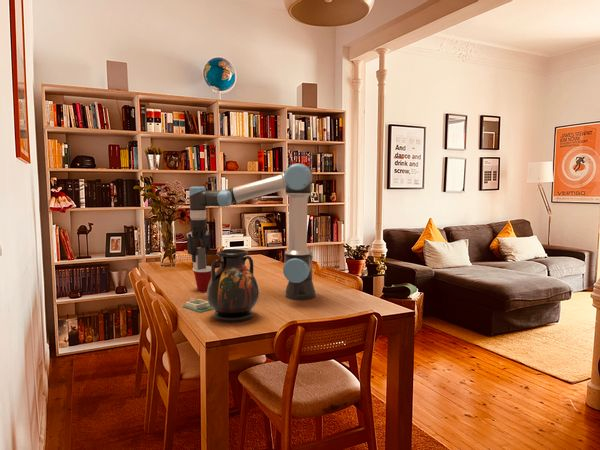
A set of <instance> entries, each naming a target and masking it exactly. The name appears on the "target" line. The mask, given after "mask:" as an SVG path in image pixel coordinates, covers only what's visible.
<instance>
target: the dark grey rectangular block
mask: <svg viewBox="0 0 600 450" xmlns="http://www.w3.org/2000/svg"><path fill="white" fill-rule="evenodd" d="M196 255H198V270H201V269H206V266H207V260H206V255H205V248H203V247H201V246H199V247H198V246H197V253H196Z"/></svg>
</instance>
